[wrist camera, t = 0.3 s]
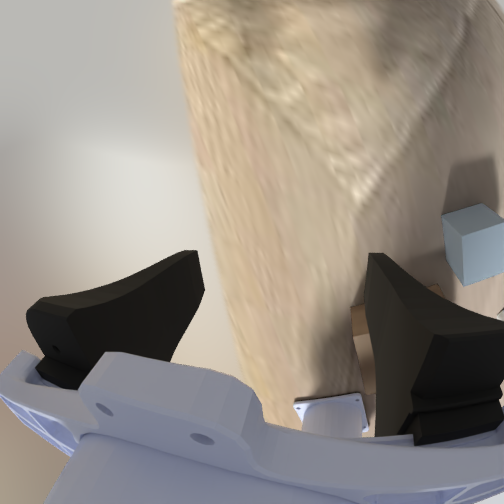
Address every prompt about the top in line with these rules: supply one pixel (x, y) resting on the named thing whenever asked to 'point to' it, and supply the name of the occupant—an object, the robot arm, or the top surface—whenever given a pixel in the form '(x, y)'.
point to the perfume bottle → (501, 316)
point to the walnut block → (369, 344)
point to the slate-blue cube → (474, 243)
